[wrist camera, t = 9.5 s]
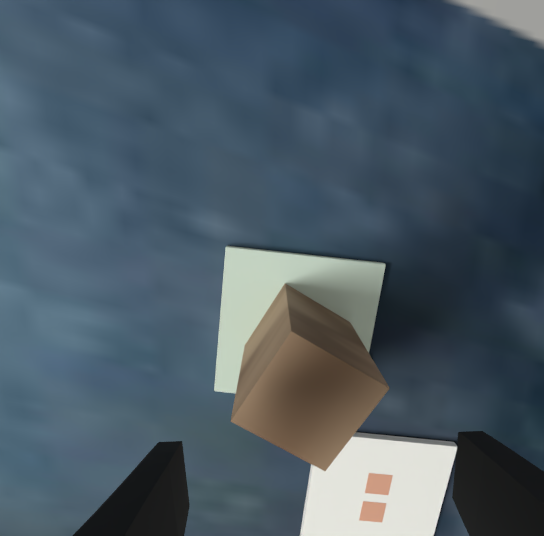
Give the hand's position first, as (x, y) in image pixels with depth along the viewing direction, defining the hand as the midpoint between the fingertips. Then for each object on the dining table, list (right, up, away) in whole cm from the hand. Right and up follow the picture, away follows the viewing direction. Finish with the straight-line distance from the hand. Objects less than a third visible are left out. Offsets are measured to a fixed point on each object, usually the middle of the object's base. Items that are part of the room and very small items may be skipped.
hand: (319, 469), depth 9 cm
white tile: (+5, -8, +11) cm, 15 cm away
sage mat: (0, +2, +9) cm, 9 cm away
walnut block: (0, +2, +9) cm, 9 cm away
